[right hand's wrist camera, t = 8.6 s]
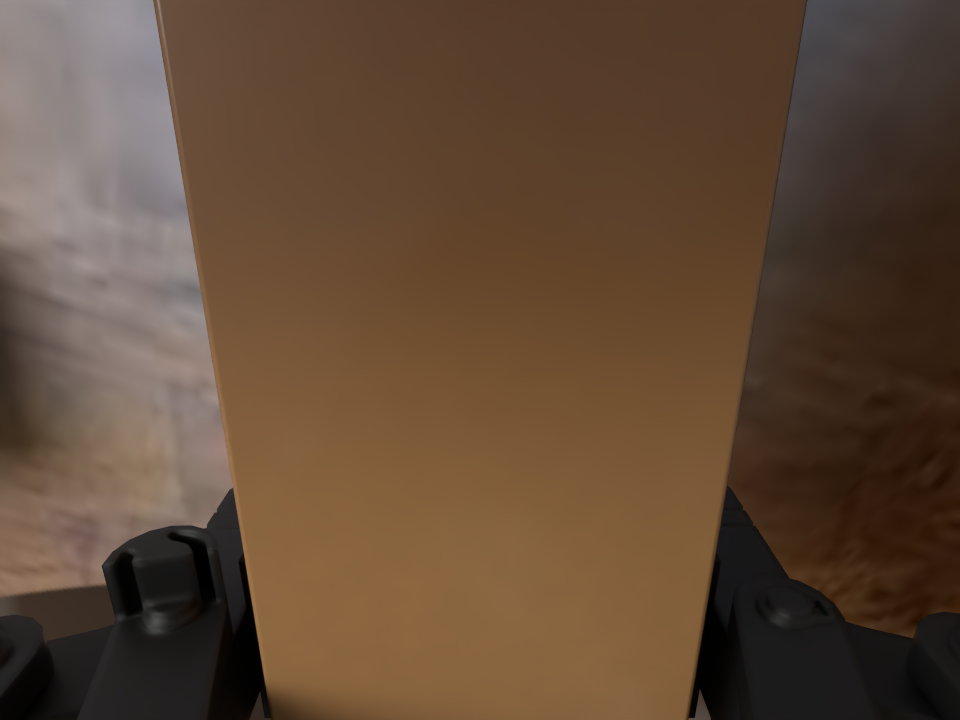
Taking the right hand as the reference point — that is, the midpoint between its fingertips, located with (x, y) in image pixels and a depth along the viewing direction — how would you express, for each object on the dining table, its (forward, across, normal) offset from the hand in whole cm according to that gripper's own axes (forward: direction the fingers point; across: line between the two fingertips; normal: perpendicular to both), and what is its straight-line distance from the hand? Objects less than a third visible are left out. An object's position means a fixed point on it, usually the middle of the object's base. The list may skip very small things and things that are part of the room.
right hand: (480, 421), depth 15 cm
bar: (+1, 0, -7) cm, 7 cm away
